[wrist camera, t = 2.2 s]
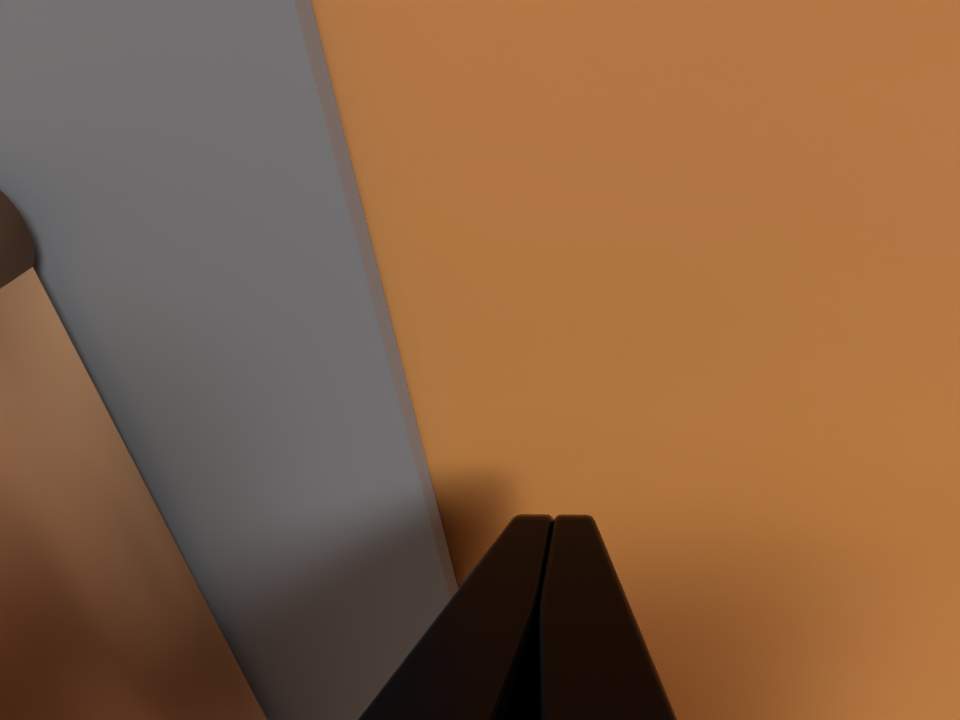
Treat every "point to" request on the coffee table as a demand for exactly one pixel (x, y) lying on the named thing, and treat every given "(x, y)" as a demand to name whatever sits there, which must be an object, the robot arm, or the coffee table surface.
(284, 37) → the card
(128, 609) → the brown wooden bar
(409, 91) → the coffee table surface
